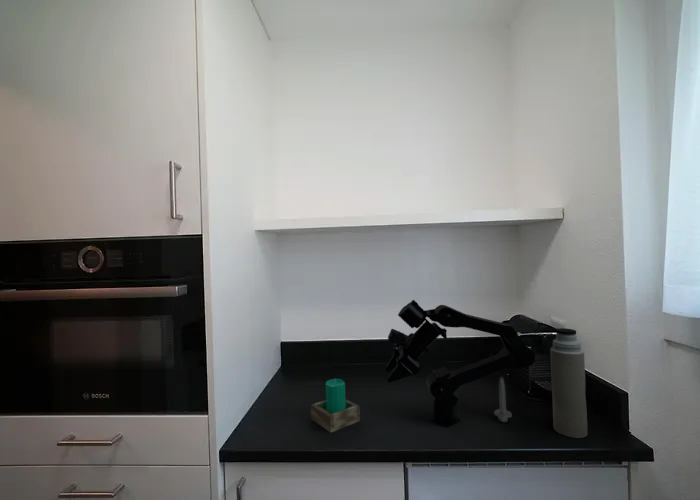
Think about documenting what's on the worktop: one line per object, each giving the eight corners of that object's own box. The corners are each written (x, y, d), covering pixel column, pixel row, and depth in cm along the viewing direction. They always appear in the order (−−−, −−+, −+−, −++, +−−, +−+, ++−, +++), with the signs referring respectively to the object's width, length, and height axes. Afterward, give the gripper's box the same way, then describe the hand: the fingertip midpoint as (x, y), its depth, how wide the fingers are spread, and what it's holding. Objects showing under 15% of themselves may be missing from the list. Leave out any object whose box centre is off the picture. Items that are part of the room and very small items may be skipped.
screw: (503, 425, 100) (490, 418, 105) (515, 421, 102) (502, 415, 107) (502, 380, 100) (489, 375, 105) (514, 377, 102) (501, 372, 107)
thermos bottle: (579, 424, 100) (574, 326, 100) (593, 438, 92) (588, 332, 92) (549, 422, 101) (545, 326, 101) (560, 437, 93) (556, 332, 94)
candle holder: (339, 409, 114) (339, 395, 114) (360, 420, 106) (359, 406, 106) (311, 419, 108) (310, 404, 108) (330, 432, 99) (330, 416, 99)
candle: (330, 411, 111) (329, 373, 111) (348, 413, 109) (347, 375, 109) (323, 419, 105) (322, 380, 105) (342, 422, 103) (340, 381, 103)
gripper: (399, 315, 115) (367, 349, 115) (406, 326, 96) (367, 367, 96) (424, 338, 114) (392, 372, 114) (436, 354, 96) (397, 395, 96)
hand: (387, 375), depth 105 cm, fingers open, 9 cm apart
